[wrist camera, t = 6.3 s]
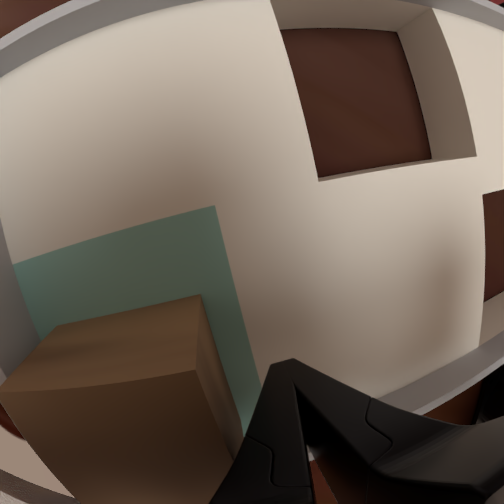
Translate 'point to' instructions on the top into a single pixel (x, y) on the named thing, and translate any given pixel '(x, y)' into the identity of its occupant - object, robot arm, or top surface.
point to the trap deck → (251, 191)
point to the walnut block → (130, 406)
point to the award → (28, 492)
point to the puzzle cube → (498, 2)
